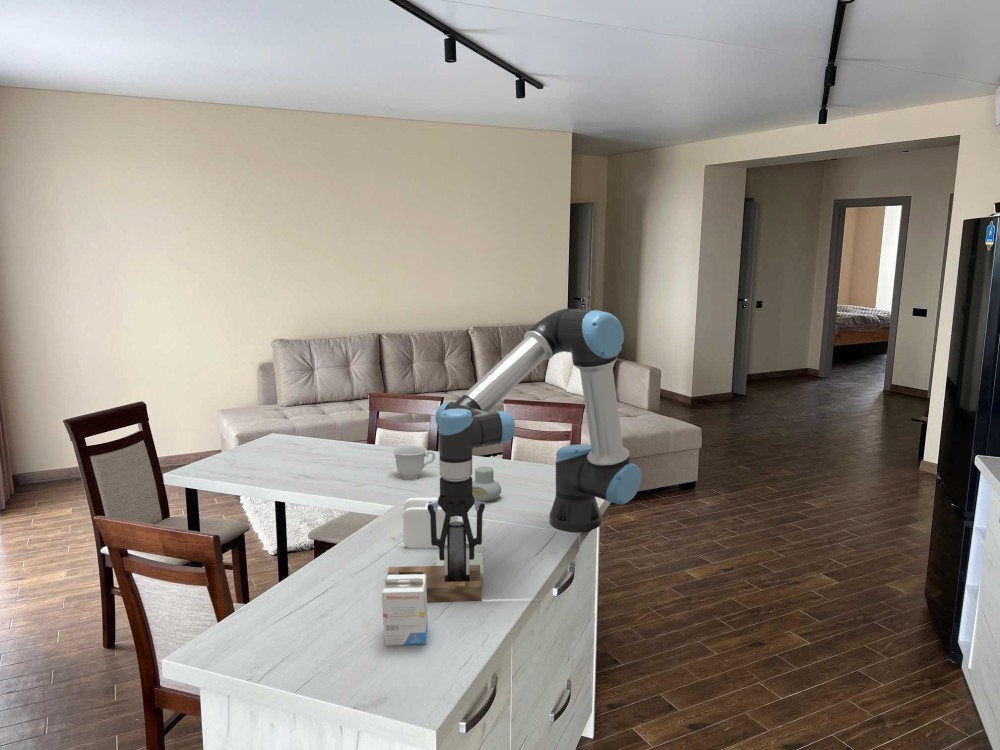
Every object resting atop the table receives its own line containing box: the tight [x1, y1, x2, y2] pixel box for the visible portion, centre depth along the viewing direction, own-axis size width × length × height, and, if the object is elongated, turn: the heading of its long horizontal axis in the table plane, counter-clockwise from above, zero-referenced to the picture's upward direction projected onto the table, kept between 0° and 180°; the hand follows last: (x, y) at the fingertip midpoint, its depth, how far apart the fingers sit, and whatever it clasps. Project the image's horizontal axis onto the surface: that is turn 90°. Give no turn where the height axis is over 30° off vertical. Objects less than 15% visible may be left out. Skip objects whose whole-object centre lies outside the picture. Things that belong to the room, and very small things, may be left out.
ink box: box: [381, 574, 429, 646], centre depth 152 cm, size 9×8×13 cm
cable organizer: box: [402, 497, 459, 549], centre depth 201 cm, size 15×11×12 cm
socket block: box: [386, 565, 482, 604], centre depth 173 cm, size 22×12×4 cm, turn 93°
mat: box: [435, 552, 485, 574], centre depth 187 cm, size 12×12×1 cm
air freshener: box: [472, 466, 502, 502], centre depth 237 cm, size 11×8×10 cm
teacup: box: [392, 445, 436, 481], centre depth 259 cm, size 12×15×10 cm
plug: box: [447, 520, 467, 582], centre depth 172 cm, size 4×4×14 cm
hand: (457, 572), depth 173 cm, fingers closed on plug, 4 cm apart
